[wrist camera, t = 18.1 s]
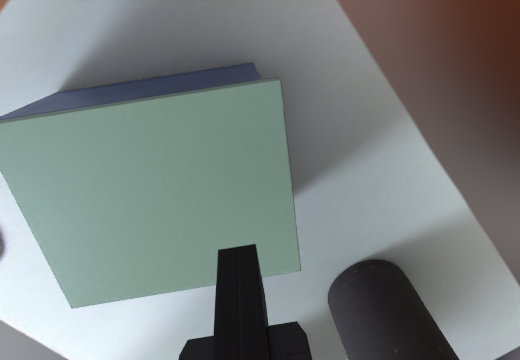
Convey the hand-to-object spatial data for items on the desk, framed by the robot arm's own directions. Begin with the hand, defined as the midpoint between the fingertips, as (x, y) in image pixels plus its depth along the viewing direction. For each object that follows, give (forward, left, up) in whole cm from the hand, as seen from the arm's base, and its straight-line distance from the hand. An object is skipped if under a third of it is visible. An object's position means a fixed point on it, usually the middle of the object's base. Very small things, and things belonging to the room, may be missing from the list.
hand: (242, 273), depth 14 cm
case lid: (0, -5, -8) cm, 9 cm away
